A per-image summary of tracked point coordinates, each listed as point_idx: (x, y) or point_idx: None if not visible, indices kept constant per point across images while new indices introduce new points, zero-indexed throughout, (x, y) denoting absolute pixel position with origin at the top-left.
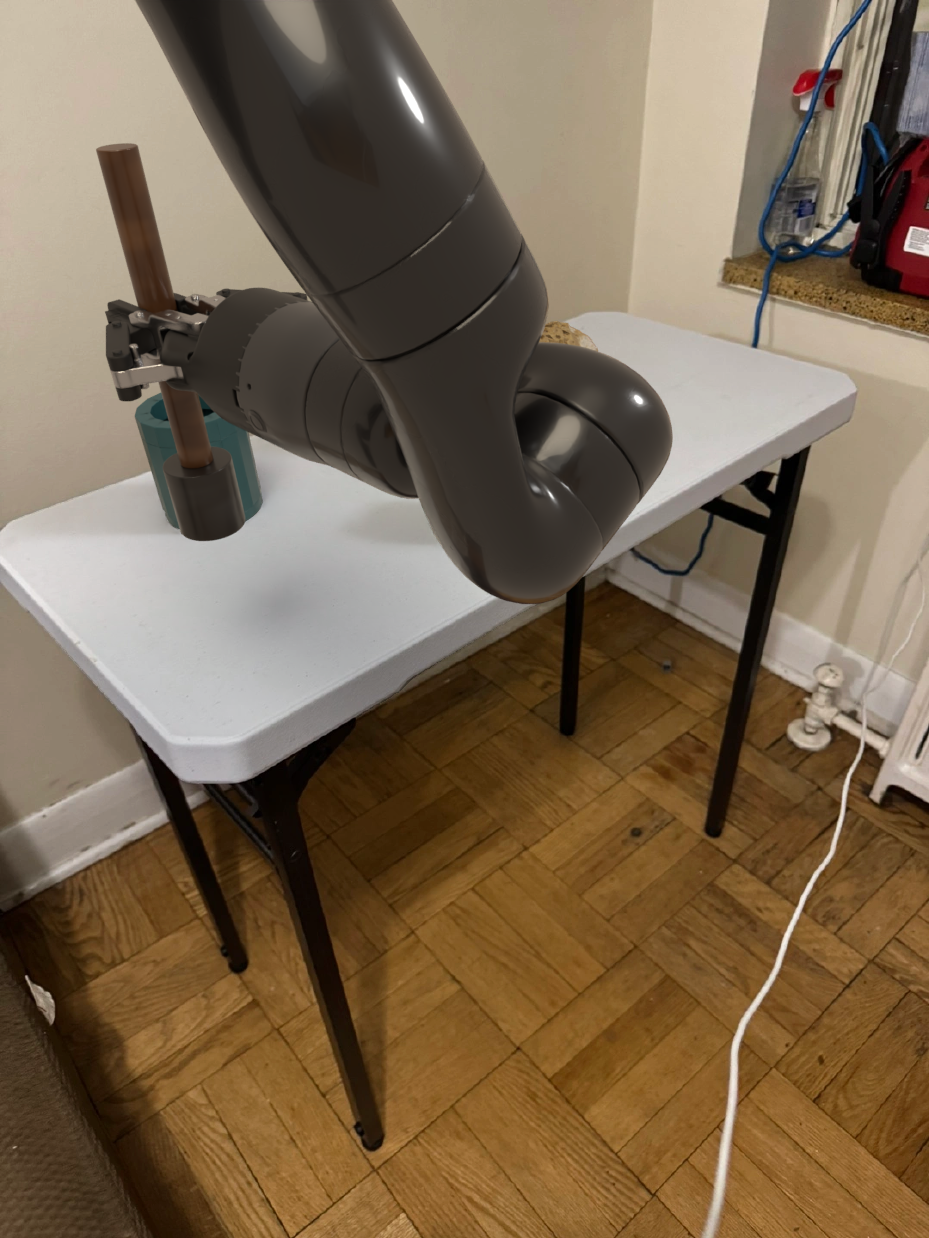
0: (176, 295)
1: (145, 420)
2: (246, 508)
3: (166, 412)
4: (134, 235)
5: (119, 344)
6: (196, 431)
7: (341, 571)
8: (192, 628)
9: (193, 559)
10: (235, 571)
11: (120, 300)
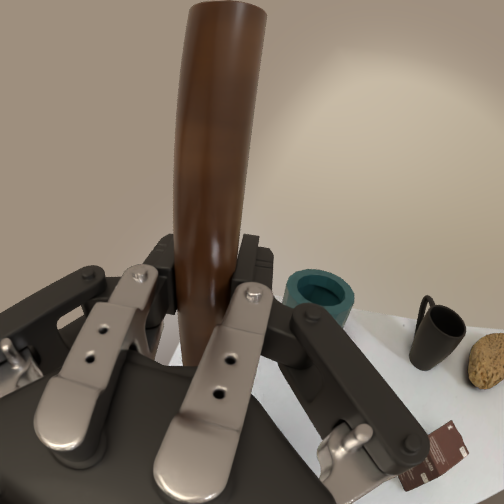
0: (249, 265)
1: (290, 284)
2: None
3: (312, 282)
4: (179, 148)
5: (10, 322)
6: None
7: (314, 451)
8: None
9: (259, 370)
10: (267, 399)
11: None
